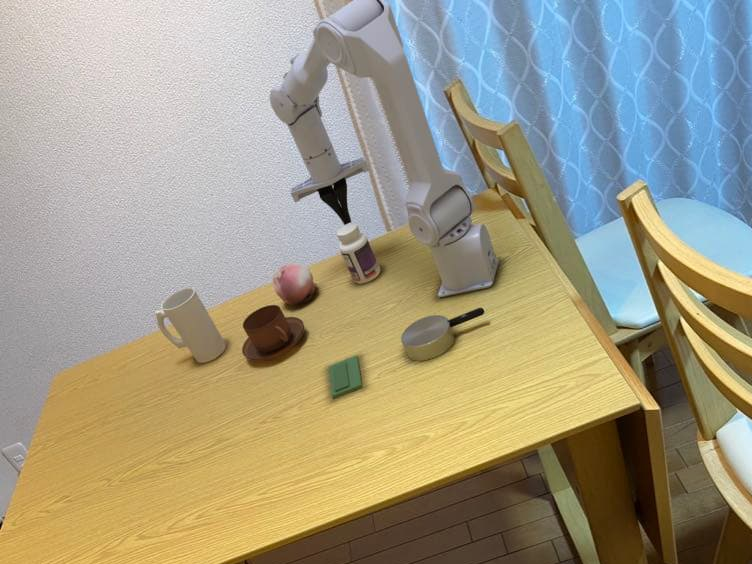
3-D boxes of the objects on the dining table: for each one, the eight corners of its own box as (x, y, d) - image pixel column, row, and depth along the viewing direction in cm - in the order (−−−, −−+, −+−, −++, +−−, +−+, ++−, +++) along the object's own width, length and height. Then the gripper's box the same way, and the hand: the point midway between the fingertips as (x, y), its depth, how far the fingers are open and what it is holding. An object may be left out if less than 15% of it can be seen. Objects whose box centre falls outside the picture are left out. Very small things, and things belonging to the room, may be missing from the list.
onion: (279, 301, 165) (262, 268, 161) (314, 281, 166) (298, 248, 161) (290, 316, 159) (272, 283, 155) (326, 295, 160) (309, 262, 155)
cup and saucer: (320, 325, 153) (305, 295, 149) (284, 368, 147) (268, 338, 143) (270, 326, 159) (255, 297, 155) (235, 367, 153) (218, 339, 149)
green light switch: (358, 357, 140) (356, 353, 140) (362, 387, 134) (360, 382, 133) (330, 368, 141) (327, 364, 140) (333, 399, 134) (330, 394, 134)
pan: (410, 367, 133) (403, 352, 131) (404, 341, 139) (398, 327, 137) (493, 334, 131) (487, 319, 129) (483, 309, 136) (478, 294, 135)
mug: (231, 337, 162) (199, 283, 154) (222, 358, 157) (188, 303, 149) (186, 350, 165) (152, 297, 157) (176, 371, 161) (140, 318, 153)
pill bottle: (382, 264, 160) (362, 217, 154) (379, 279, 156) (358, 231, 150) (356, 272, 162) (335, 226, 155) (352, 287, 158) (330, 240, 152)
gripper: (353, 126, 152) (381, 197, 161) (279, 159, 154) (311, 228, 163) (356, 139, 146) (385, 212, 155) (279, 173, 149) (312, 243, 158)
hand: (347, 221), depth 159 cm, fingers closed
